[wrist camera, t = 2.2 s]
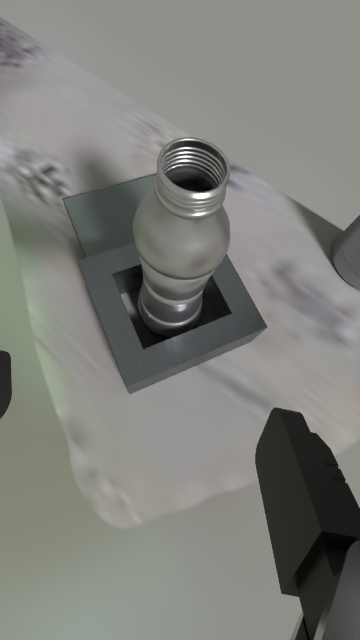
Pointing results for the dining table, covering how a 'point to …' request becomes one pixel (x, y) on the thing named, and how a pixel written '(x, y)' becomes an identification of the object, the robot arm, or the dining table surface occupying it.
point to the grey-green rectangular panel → (107, 215)
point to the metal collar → (180, 351)
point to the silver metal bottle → (181, 233)
